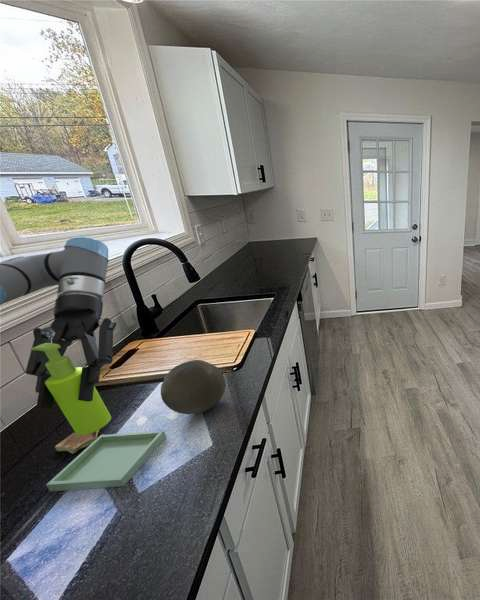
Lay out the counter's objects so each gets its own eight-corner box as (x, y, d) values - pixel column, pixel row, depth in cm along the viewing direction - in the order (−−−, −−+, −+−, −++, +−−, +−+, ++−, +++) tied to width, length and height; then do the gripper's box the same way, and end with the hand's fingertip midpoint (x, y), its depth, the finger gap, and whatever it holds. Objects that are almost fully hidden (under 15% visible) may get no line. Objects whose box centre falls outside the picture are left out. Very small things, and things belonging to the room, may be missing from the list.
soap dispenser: (96, 412, 72) (53, 336, 64) (118, 416, 70) (76, 339, 62) (65, 432, 67) (14, 352, 59) (88, 437, 65) (39, 355, 57)
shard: (102, 419, 86) (100, 414, 86) (124, 422, 85) (122, 417, 84) (55, 451, 77) (51, 445, 76) (79, 455, 75) (75, 449, 74)
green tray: (50, 491, 66) (45, 484, 65) (104, 440, 79) (101, 434, 78) (124, 486, 66) (120, 479, 66) (166, 436, 79) (163, 430, 78)
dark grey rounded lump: (183, 400, 92) (166, 356, 87) (235, 389, 96) (222, 346, 90) (164, 435, 80) (143, 386, 74) (225, 421, 83) (209, 374, 77)
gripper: (11, 299, 65) (-16, 414, 56) (119, 286, 70) (109, 390, 61) (42, 313, 72) (22, 417, 63) (138, 300, 76) (132, 395, 68)
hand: (65, 404), depth 62 cm, fingers closed on soap dispenser, 6 cm apart
